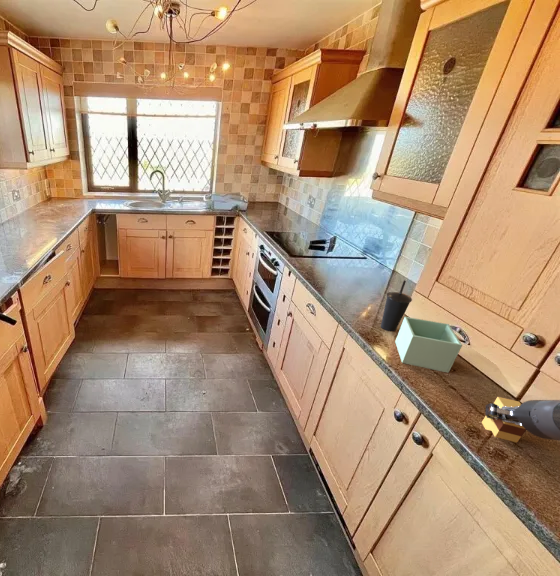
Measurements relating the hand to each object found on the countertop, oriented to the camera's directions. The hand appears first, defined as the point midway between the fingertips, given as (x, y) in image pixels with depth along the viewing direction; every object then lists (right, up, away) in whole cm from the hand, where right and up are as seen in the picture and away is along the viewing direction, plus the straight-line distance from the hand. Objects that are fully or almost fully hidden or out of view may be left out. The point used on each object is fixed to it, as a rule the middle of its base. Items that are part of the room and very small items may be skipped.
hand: (500, 416), depth 75 cm
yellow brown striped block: (-1, -4, 0) cm, 4 cm away
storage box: (+1, +9, +27) cm, 28 cm away
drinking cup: (+1, +16, +42) cm, 45 cm away
